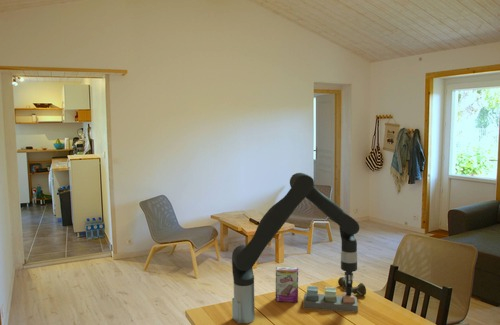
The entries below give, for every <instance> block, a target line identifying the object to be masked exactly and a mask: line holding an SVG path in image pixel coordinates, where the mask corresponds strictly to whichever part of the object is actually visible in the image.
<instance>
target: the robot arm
mask: <svg viewBox="0 0 500 325" xmlns="http://www.w3.org/2000/svg"><path fill="white" fill-rule="evenodd" d="M289 186H290V188H289V190H288V192H287V193H286V194H285V195H284V196H283V197H282V198H281V199H279V201H277V202H276V203H274V204H273V205H272V206H271V207H270V208H269V209H268V210H267V212H266V213H265V214H264V215H263V216H262V218H261V219H260V221H259V223H258V225H257V227H256V229H255V233H253V236H252V238H251V239H250V241H249V242H248V243H247V244H246V245H244V244H240V245H238V246H237V247H235V248H234V249H233V251H232V255H231V267H232V268H231V270H232V278H233V298H231V305H232V309H231V310H232V312H231V313H232V319H233V320H234V321H235V322H236V324H249V323H253V322H254V321H255V318H256V317H255V315H256V313H255V309H256V308H255V274H254V271H253V267H254V265H255V264H256V263H257V261H258V259H260V258H259V257H260V256H261V255H262V254H263V252H264V250H265V248H266V247H267V246H268V245H269V243H270V242H271V241H272V240H273V238H275V236H276V234H278V232H279V231H280V230H281V229H282V227H283V226H284V225H285V223H286V222H287V221H288V219H289V218H290V217H291V215H292V214H293V213H294V211H296V208H297V207H298V206H299V205H300V204H301V203H302V202H303V201H304V199H307V200H308V201H310V202H311V203H312V204H313V205H314V206H316V208H317V209H319V210H320V211H321V212H322V213H323V214H324V215H325V216H326V217H327V218H328V219H330V221H332V222H334V223H335V224H337V225H338V227H339V233H340V237H341V239H340V240H341V251H340V269H341V271H344V277H345V283H346V295H349V296H351V288H352V287H353V283H354V282H353V281H354V280H353V279H354V272H356V271H357V270H358V251H357V250H358V244H357V243H358V242H357V239H356V237H355V235H356V234H358V232H359V231H360V224H359V222H358V221H357V220H356V219H355V218H354V217H352V216H351V215H349V214H348V213H347V212H346V211H344V210H343V208H342V207H340V206H339V205H338V204H337V203H336V202H335V201H333V200H332V199H331V198H330V197H328V196H326V195H325V194H324V193H322V192H321V191H320V190H318V188H316V187H315V181H314V178H313V177H312V176H311V175H309V174H307V173H303V172H296V173H294V174H292V175H291V177H290V179H289Z"/></svg>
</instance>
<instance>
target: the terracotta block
mask: <svg viewBox="0 0 500 325" xmlns="http://www.w3.org/2000/svg"><path fill="white" fill-rule="evenodd" d="M342 296H343V303H352V304H354V296H355V294H354V293H351V296H349V295H346V292H345V291H344V292H342Z"/></svg>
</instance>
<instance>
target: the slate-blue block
mask: <svg viewBox="0 0 500 325" xmlns="http://www.w3.org/2000/svg"><path fill="white" fill-rule="evenodd" d="M306 287H307V288H306V293H307V300H313V301H318V294H319V287H318V285H317V286H316V285H315V286H314V285H307V286H306Z"/></svg>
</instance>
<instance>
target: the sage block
mask: <svg viewBox="0 0 500 325" xmlns="http://www.w3.org/2000/svg"><path fill="white" fill-rule="evenodd" d="M324 293H325V301H328V302H336V295H337V290H336V287H334V286H333V287H331V286H325V287H324Z"/></svg>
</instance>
